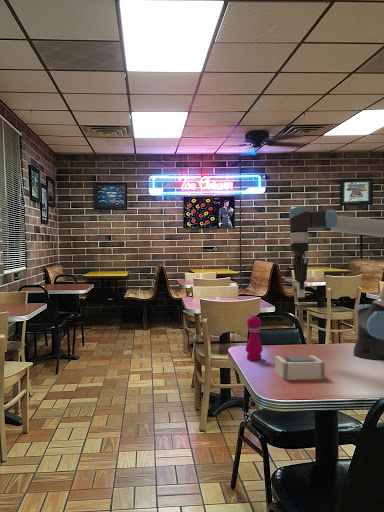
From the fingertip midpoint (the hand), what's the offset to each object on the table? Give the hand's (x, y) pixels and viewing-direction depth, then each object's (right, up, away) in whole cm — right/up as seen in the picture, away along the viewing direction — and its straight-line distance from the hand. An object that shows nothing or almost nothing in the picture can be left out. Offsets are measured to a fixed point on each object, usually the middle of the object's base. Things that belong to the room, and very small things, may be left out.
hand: (301, 297), depth 182 cm
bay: (-7, -27, -24) cm, 37 cm away
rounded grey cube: (-7, -27, -25) cm, 38 cm away
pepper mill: (-20, -27, +1) cm, 34 cm away
